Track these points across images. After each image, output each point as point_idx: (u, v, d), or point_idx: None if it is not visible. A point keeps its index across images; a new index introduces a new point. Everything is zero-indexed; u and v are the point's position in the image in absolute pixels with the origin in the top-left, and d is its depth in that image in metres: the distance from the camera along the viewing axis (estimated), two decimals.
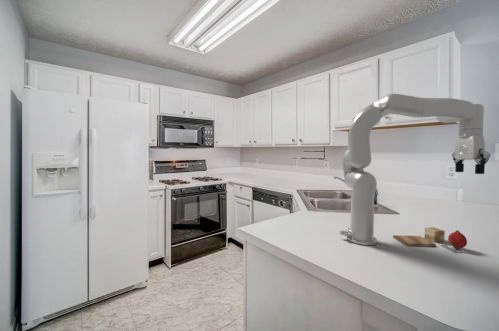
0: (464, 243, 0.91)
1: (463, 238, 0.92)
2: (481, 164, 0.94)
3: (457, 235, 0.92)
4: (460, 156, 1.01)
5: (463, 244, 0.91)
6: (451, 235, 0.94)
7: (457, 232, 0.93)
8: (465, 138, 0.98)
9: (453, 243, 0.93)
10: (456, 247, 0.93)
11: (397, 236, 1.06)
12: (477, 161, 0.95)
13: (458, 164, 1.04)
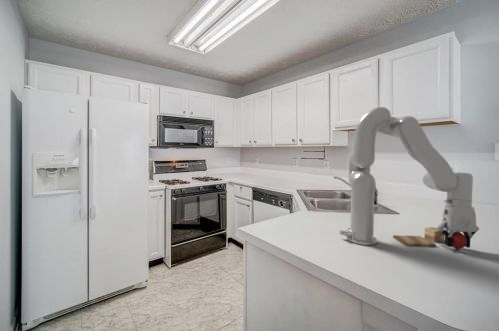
0: (464, 243, 0.91)
1: (463, 238, 0.92)
2: None
3: (458, 235, 0.92)
4: (460, 228, 0.91)
5: (463, 244, 0.91)
6: None
7: (457, 232, 0.93)
8: (466, 209, 0.91)
9: (453, 243, 0.93)
10: (456, 247, 0.93)
11: (397, 236, 1.06)
12: (470, 234, 0.92)
13: None
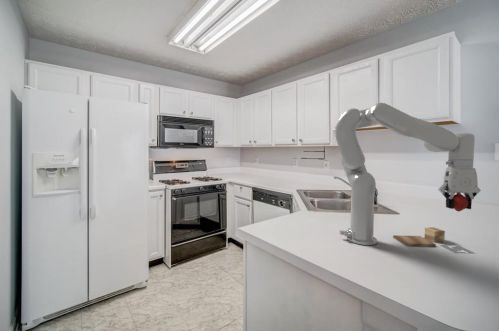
0: (465, 204, 0.90)
1: (464, 199, 0.91)
2: None
3: (459, 196, 0.92)
4: (462, 189, 0.90)
5: (464, 205, 0.90)
6: None
7: (458, 194, 0.93)
8: (468, 169, 0.90)
9: (454, 205, 0.92)
10: (457, 209, 0.92)
11: (397, 236, 1.06)
12: (471, 196, 0.92)
13: None
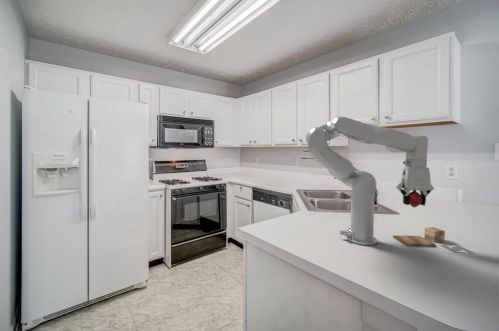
0: (419, 200, 0.98)
1: (418, 196, 0.99)
2: None
3: (414, 194, 1.00)
4: (416, 187, 0.98)
5: (418, 201, 0.98)
6: None
7: (414, 191, 1.00)
8: (421, 169, 0.98)
9: (410, 201, 1.00)
10: (412, 205, 1.00)
11: (397, 236, 1.06)
12: (425, 193, 0.99)
13: None
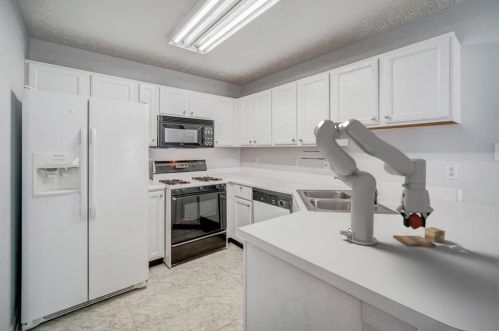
0: (419, 223, 0.99)
1: (419, 218, 0.99)
2: None
3: (414, 216, 1.00)
4: (415, 210, 0.99)
5: (418, 224, 0.99)
6: (409, 216, 1.02)
7: (414, 213, 1.01)
8: (420, 192, 0.98)
9: (410, 223, 1.01)
10: (413, 227, 1.01)
11: (397, 236, 1.06)
12: (425, 215, 1.00)
13: None
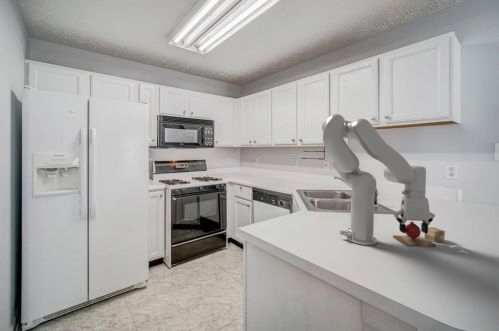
0: (417, 233, 0.99)
1: (416, 228, 1.00)
2: None
3: (411, 226, 1.01)
4: (415, 217, 0.99)
5: (416, 234, 0.99)
6: (406, 226, 1.02)
7: (411, 223, 1.02)
8: (420, 200, 0.98)
9: (408, 233, 1.01)
10: (411, 237, 1.01)
11: (397, 236, 1.06)
12: (427, 222, 1.00)
13: None
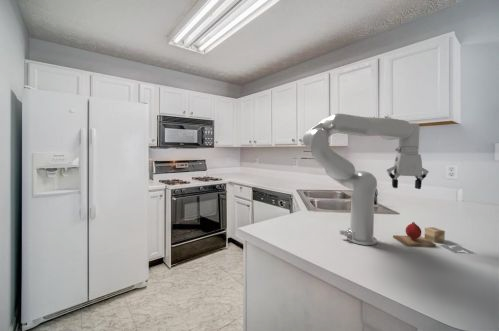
0: (418, 234, 0.99)
1: (418, 229, 0.99)
2: None
3: (413, 226, 1.00)
4: (407, 173, 1.02)
5: (417, 235, 0.99)
6: (408, 226, 1.02)
7: (413, 224, 1.01)
8: (413, 155, 1.01)
9: (409, 234, 1.01)
10: (412, 237, 1.01)
11: (397, 236, 1.06)
12: (420, 177, 1.03)
13: None
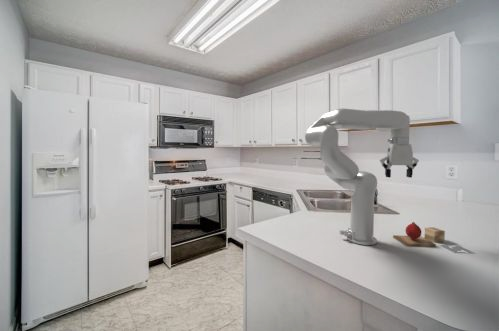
0: (418, 234, 0.99)
1: (418, 229, 0.99)
2: None
3: (413, 226, 1.00)
4: (399, 162, 1.07)
5: (417, 235, 0.99)
6: (408, 226, 1.02)
7: (413, 224, 1.01)
8: (404, 145, 1.06)
9: (409, 234, 1.01)
10: (412, 237, 1.01)
11: (397, 236, 1.06)
12: (411, 166, 1.08)
13: None
